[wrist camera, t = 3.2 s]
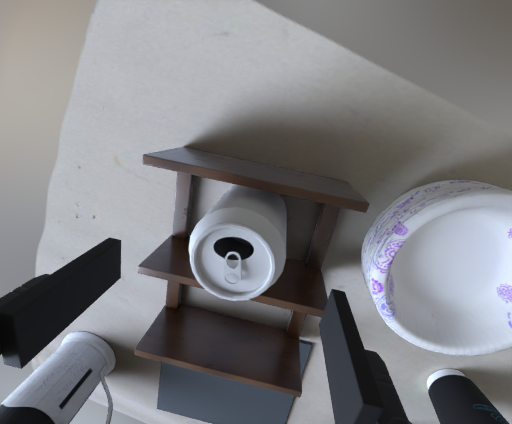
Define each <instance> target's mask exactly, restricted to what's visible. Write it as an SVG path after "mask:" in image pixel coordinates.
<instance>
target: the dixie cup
mask: <svg viewBox="0 0 512 424" xmlns="http://www.w3.org/2000/svg"><path fill="white" fill-rule="evenodd" d="M427 387H428V389H429V390H428V393H429V396H430V399H431V401H432V404H433V406H434V409H435V411H436V414H437V416H438V419H439V421H440V424H509V423H508V422H507V421H506V419H505V418H504V417H503V416H502V415H501V414H500V413H499V411H498V410H497V409H496V408H495V407H494V406H493V405H492V403H491V402H490V401H489V400H488V399H487V398H486V397H485V395H484V394H483V393H482V392H481V391H480V390H479V388H478V387H477V386H476V385H475V384H474V383H473V382H472V381H471V380H470V379H468V378H467V377H466V376H465V375H464V374H463V373H462V372H460V371H458V370H454V369H442V370H438V371H436V372H434V373H433V374H431V375H430V376H429V378H428V380H427Z"/></svg>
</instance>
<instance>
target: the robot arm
mask: <svg viewBox="0 0 512 424" xmlns="http://www.w3.org/2000/svg"><path fill="white" fill-rule="evenodd" d="M120 278H121V240H118V239H113V238H108V239H106V240H105V241H103V242H101V243H100V244H98V245H97V246H95V247H94V248H92V249H90V250H89V251H87V252H86V253H84V254H82V255H81V256H79V257H78V258H76V259H75V260H73V261H71V262H70V263H68V264H67V265H65V266H64V267H62V268H60V269H59V270H57V271H56V272H54V273H53V274H51V275H49V274H44V275H41V276H39V277H36V278H33V279H32V280H30V281H28V282H26V283H25V284H23V285H22V286H21V287H18V288H16V289H15V290H13V292H10V293H8V294H7V295H5V296H4V297H1V298H0V355H1V354H2V356H3V361H4V364H6V365H9V366H13V367H17V368H21V369H22V368H23V367H24V366H25V365H26V364H27V363H28V362H29V361H31V360H32V359H33V358H34V357H35V356H36V355H37V354H38V353H39V352H40V351H41V350H43V349H44V348H45V347H46V346H47V345H48V344H49V343H50V342H51V341H52V340H53V339H54V338H56V337H57V336H58V335H59V334H60V333H61V332H62V331H63V330H64V329H65V328H66V327H68V326H69V325H70V324H71V323H72V322H73V321H74V320H75V319H76V318H77V317H78V316H80V315H81V314H82V313H83V312H84V311H85V310H86V309H87V308H88V307H89V306H90V305H91V304H93V303H94V302H95V301H96V300H97V299H98V298H99V297H100V296H101V295H102V294H103V293H105V292H106V291H107V290H108V289H109V288H110V287H111V286H112V285H113V284H114V283H115V282H116V281H118V280H119V279H120ZM319 326H320V333H321V339H322V345H323V351H324V357H325V363H326V370H327V376H328V382H329V388H330V394H331V400H332V407H333V413H334V419H335V424H412V423H411V422H409V420H408V418H407V416H406V414H405V411H404V409H403V406H402V404H401V401H400V399H399V396H398V394H397V392H396V389H395V387H394V385H393V382H392V379H391V377H390V376H389V372H388V370H387V367H386V365H385V363H384V361H383V360H382V359H381V357H380V356H379V355H378V354H377V352H373V351H369V350H365V349H364V346H363V343H362V341H361V338H360V335H359V332H358V329H357V326H356V323H355V320H354V317H353V315H352V312H351V309H350V306H349V303H348V300H347V297H346V294H345V292H343V291H339V290H335V289H332V290H331V293H330V296H329V298H328V301H327V304H326V307H325V310H324V313H323V316H322V319H321V321H320V324H319Z"/></svg>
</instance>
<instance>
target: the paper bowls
mask: <svg viewBox="0 0 512 424" xmlns="http://www.w3.org/2000/svg"><path fill="white" fill-rule="evenodd" d="M361 268H362V271H363V272H362V273H363V275H364V280H365V283H366V285H367V288H368V290H369V292H370V294H371V297H372V299H373V301H374V303H375V305H376V308H377V309H378V311H379V314H380V315H381V317H382V318H383V320H384V321H385V322H386V324H387V325H388V326H389V327H390V328H391V329H392V330H394V331H395V332H396V333H397V334H398V335H400V336H401V337H402V338H404V339H405V340H407V341H409V342H410V343H412V344H414V345H417V346H419V347H421V348H424V349H427V350H430V351H434V352H438V353H442V354H449V355H481V354H488V353H493V352H498V351H502V350H505V349H508V348H511V347H512V190H508V189H504V188H501V187H498V186H494V185H490V184H487V183H483V182H477V181H471V180H445V181H439V182H433V183H430V184H427V185H423V186H420V187H417V188H414V189H412V190H410V191H408V192H407V193H405V194H403V195H401V196H400V197H398V198H397V199H395V200H394V201H393V202H392V203H391V204H390V205H389V206H388V207H387V208H386V209H384V210H383V211H382V212H381V213H380V214H379V216H378V217H377V218H376V220H375V221H374V222H373V225H372V226H371V227H370V229H369V231H368V233H367V235H366V237H365V240H364V243H363V247H362V254H361Z"/></svg>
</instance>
